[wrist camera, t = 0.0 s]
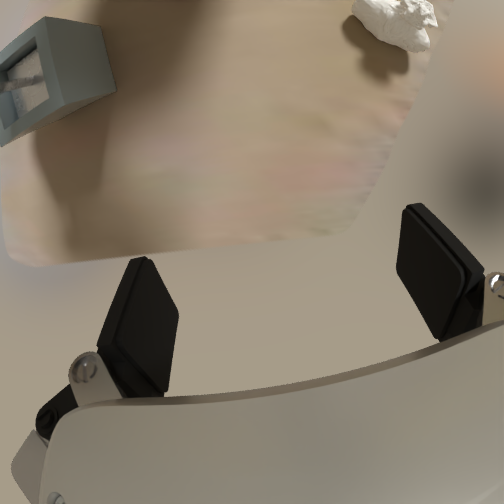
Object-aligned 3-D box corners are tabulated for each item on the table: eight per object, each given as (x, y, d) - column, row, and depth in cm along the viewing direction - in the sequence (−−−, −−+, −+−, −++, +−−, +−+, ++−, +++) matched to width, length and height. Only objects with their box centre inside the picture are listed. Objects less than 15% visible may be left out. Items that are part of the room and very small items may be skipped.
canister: (42, 60, 26) (-19, 70, 14) (100, 26, 25) (44, 16, 13) (58, 119, 32) (1, 147, 21) (117, 90, 31) (64, 104, 20)
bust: (406, 45, 30) (454, 13, 19) (408, 74, 29) (464, 42, 18) (342, 2, 26) (385, -42, 16) (338, 27, 26) (388, -24, 15)
